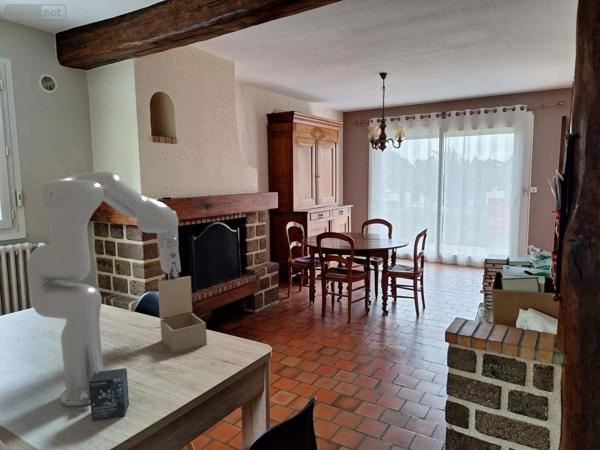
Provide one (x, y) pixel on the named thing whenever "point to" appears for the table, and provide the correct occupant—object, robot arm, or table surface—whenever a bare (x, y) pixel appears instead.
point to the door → (175, 297)
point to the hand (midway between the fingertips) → (171, 289)
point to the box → (109, 394)
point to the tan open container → (183, 332)
